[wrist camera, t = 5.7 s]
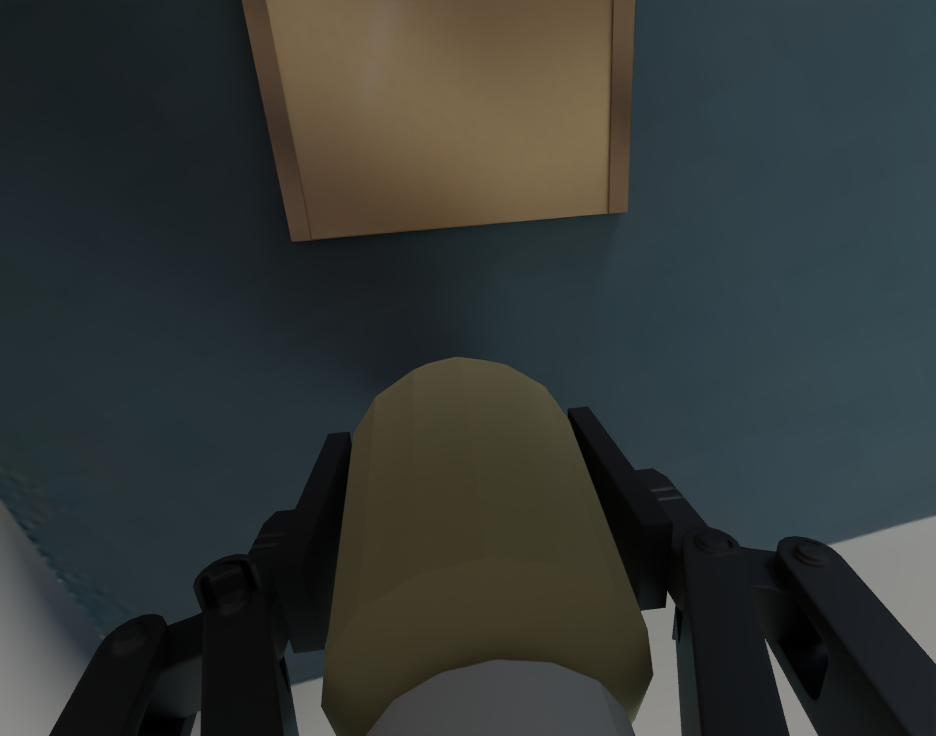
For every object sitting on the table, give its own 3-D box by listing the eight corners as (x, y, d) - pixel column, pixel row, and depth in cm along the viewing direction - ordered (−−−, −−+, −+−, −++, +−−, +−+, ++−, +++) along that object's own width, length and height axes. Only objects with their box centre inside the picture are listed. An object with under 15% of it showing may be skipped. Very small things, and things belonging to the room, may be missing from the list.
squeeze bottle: (416, 523, 22) (359, 1670, 5) (327, 379, 19) (-558, 1909, 2) (576, 455, 21) (1163, 1508, 4) (508, 295, 18) (1462, 1527, 1)
